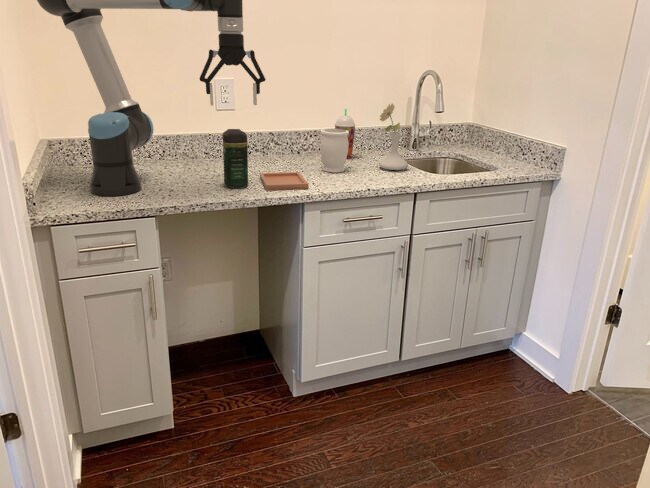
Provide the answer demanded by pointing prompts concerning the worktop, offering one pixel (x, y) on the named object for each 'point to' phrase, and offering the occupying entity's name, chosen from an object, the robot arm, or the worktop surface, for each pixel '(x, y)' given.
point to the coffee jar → (235, 158)
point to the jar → (334, 149)
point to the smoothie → (348, 125)
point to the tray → (283, 181)
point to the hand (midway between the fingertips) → (233, 104)
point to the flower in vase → (392, 159)
